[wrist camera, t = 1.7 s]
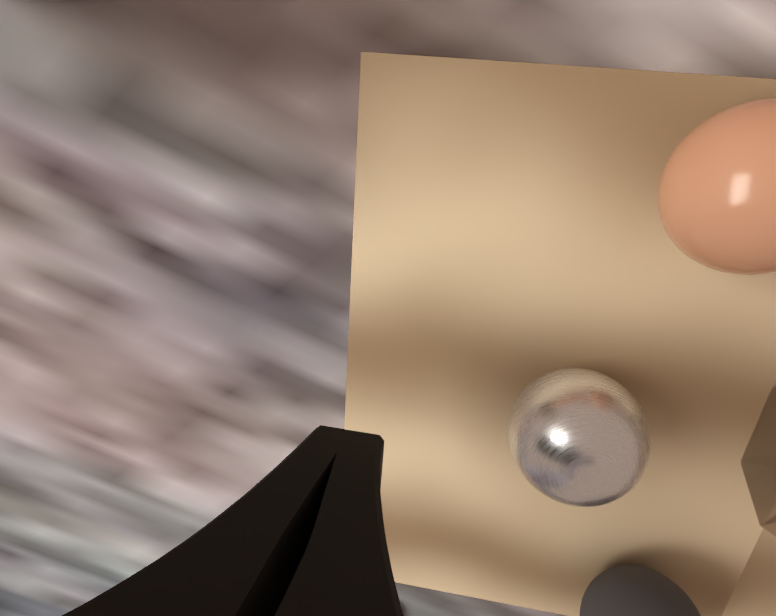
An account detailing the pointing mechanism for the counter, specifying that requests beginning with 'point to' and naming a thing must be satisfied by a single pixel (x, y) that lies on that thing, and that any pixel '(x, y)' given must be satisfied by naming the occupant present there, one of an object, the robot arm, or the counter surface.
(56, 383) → the counter surface
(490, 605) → the counter surface
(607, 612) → the black rubber ball
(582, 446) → the steel ball
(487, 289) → the board
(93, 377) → the counter surface
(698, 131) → the terracotta ball
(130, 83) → the counter surface
